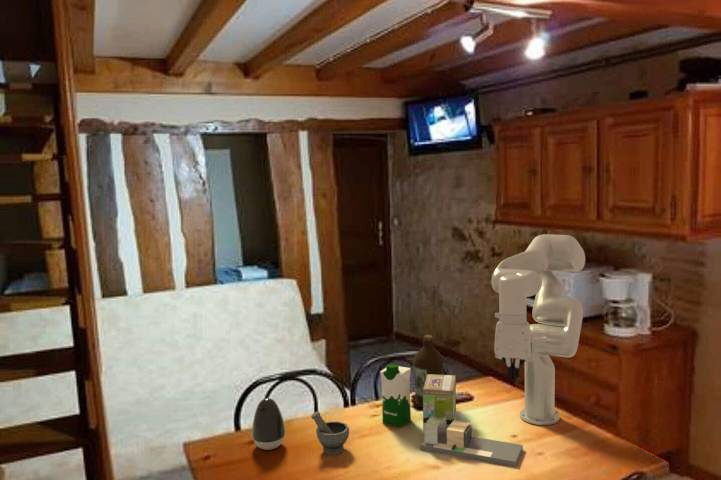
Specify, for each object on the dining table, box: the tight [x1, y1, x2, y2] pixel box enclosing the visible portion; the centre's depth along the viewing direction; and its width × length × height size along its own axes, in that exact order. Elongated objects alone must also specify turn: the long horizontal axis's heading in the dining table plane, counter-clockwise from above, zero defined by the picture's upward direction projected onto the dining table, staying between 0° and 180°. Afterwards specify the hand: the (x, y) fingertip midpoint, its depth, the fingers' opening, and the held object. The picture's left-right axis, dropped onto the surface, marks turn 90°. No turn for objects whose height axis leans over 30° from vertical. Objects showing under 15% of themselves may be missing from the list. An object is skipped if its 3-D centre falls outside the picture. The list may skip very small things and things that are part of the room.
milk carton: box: [379, 363, 412, 429], centre depth 196 cm, size 9×9×20 cm
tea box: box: [422, 374, 457, 434], centre depth 193 cm, size 15×10×15 cm, turn 168°
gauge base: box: [420, 434, 524, 468], centre depth 176 cm, size 11×28×2 cm, turn 65°
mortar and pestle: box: [310, 411, 350, 455], centre depth 178 cm, size 11×9×12 cm
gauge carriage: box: [447, 419, 473, 450], centre depth 176 cm, size 10×6×5 cm, turn 155°
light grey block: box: [423, 414, 447, 446], centre depth 180 cm, size 9×4×6 cm, turn 155°
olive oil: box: [412, 334, 444, 407], centre depth 210 cm, size 11×11×25 cm
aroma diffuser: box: [251, 397, 286, 451], centre depth 182 cm, size 10×10×15 cm
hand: (514, 378), depth 172 cm, fingers closed
